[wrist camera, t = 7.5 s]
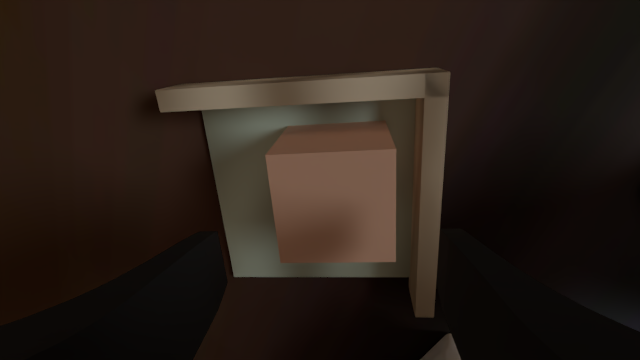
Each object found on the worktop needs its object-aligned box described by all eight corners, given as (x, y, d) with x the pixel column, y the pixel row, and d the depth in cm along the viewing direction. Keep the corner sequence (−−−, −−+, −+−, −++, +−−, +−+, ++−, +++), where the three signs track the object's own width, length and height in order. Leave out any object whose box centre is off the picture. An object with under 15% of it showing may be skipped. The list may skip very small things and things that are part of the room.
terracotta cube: (385, 120, 17) (396, 149, 13) (385, 209, 19) (395, 262, 15) (288, 125, 18) (265, 154, 13) (297, 211, 20) (280, 263, 15)
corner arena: (436, 67, 16) (450, 71, 14) (425, 287, 21) (433, 317, 19) (180, 84, 18) (154, 90, 16) (223, 286, 23) (208, 314, 20)
